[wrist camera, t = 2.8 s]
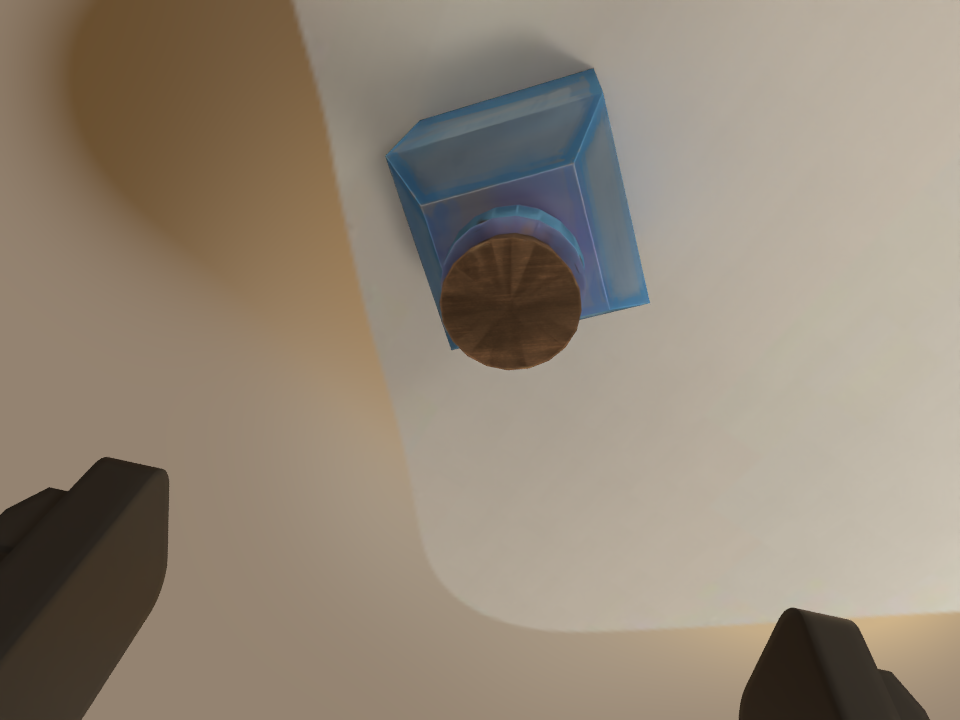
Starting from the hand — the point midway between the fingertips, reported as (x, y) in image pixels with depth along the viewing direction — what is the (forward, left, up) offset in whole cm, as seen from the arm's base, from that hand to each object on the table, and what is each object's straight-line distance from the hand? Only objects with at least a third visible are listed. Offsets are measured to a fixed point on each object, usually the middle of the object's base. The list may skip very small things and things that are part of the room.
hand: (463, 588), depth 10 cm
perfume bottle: (0, 0, -21) cm, 21 cm away
